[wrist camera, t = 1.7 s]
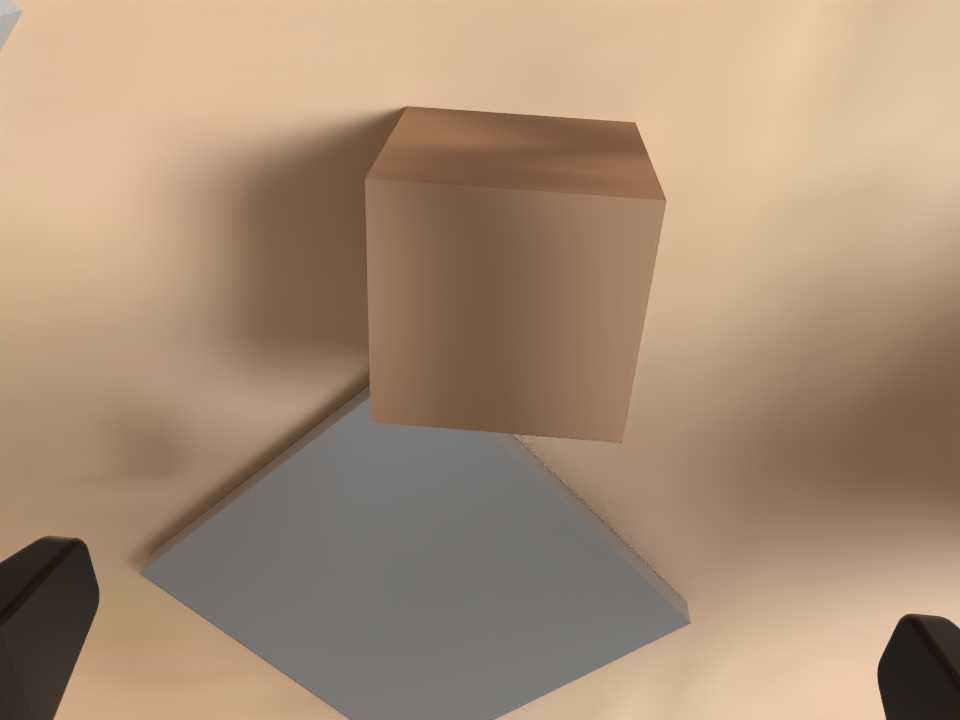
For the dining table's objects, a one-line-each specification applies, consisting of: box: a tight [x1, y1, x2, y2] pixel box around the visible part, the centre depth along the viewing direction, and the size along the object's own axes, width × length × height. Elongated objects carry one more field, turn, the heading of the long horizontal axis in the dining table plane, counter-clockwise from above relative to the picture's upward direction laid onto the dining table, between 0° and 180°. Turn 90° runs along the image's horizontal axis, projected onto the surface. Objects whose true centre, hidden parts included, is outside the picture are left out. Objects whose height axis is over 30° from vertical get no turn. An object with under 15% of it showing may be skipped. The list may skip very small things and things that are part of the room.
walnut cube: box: [365, 106, 666, 443], centre depth 16 cm, size 5×5×5 cm
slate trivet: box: [140, 385, 691, 720], centre depth 24 cm, size 12×12×1 cm
